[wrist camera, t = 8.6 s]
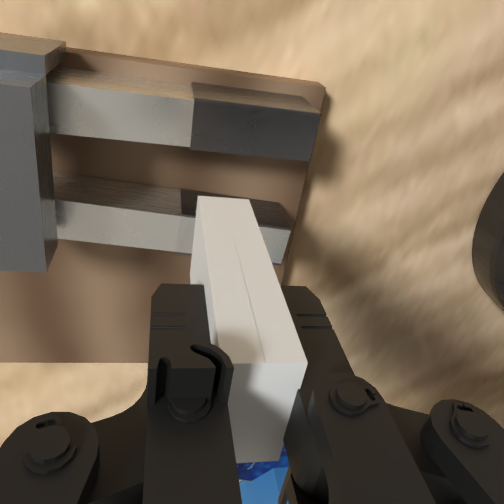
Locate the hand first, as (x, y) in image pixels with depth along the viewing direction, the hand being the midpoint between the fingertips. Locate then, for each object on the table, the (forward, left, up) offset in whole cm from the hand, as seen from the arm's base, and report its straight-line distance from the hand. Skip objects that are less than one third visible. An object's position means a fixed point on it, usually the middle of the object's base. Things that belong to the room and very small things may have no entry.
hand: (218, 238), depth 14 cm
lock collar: (+7, 0, -9) cm, 11 cm away
